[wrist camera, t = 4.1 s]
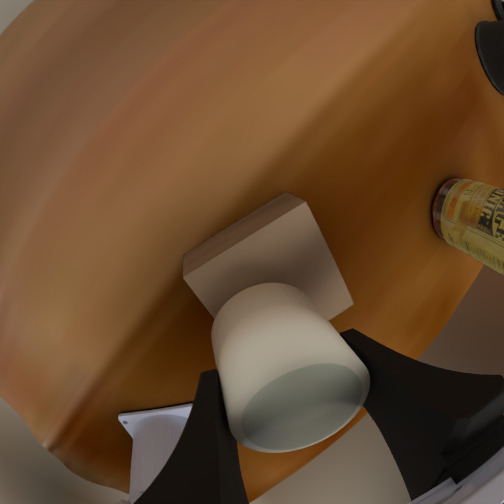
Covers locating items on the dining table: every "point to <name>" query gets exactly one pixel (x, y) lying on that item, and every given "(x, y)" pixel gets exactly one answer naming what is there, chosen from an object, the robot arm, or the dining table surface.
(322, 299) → the block
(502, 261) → the sauce bottle
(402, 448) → the robot arm
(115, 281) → the dining table surface
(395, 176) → the dining table surface
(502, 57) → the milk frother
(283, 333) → the cup
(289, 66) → the dining table surface
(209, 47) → the dining table surface
